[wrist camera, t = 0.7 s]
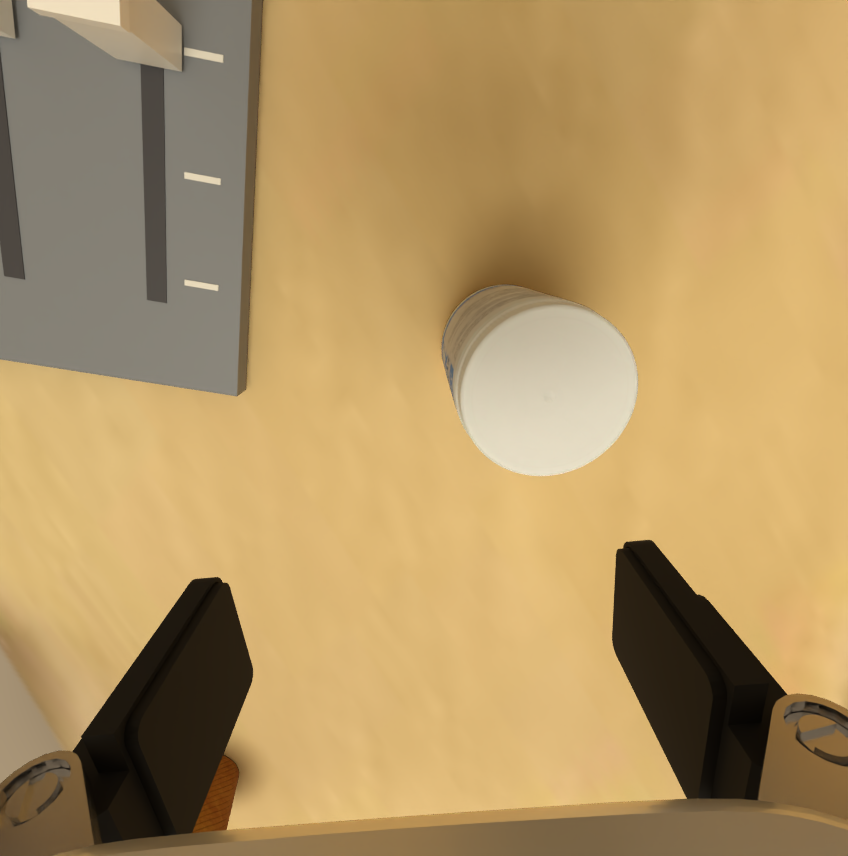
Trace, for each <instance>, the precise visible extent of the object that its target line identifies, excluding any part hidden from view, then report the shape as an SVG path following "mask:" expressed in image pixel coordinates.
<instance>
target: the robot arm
mask: <svg viewBox="0 0 848 856" xmlns="http://www.w3.org/2000/svg"><path fill="white" fill-rule="evenodd" d="M612 641H613V647H614V650H615V653H616V656H617V658H618V660H619V662H620V664H621V666H622V668H623V670H624V672H625V674H626V676H627V678H628V680H629V682H630V684H631V686H632V688H633V690H634V692H635V694H636V696H637V698H638V700H639V702H640V704H641V706H642V708H643V710H644V712H645V714H646V716H647V718H648V721H649V723H650V725H651V727H652V729H653V731H654V733H655V735H656V737H657V739H658V741H659V743H660V745H661V747H662V749H663V751H664V753H665V755H666V757H667V759H668V761H669V763H670V765H671V767H672V769H673V771H674V773H675V775H676V777H677V779H678V781H679V783H680V785H681V787H682V789H683V792H684V794H685V796H686V797H687V799H674V800H653V801H631V802H610V803H595V804H580V805H565V806H550V807H534V808H519V809H504V810H489V811H475V812H461V813H447V814H433V815H418V816H405V817H391V818H377V819H364V820H350V821H336V822H323V823H311V824H298V825H285V826H273V827H260V828H247V829H234V830H222V831H210V832H200V833H192V832H193V829H194V827H195V824H196V822H197V819H198V817H199V814H200V812H201V809H202V807H203V804H204V802H205V799H206V797H207V794H208V792H209V789H210V787H211V784H212V781H213V779H214V776H215V774H216V771H217V769H218V766H219V764H220V761H221V759H222V756H223V754H224V751H225V749H226V746H227V744H228V741H229V739H230V736H231V734H232V731H233V729H234V726H235V723H236V721H237V718H238V716H239V713H240V711H241V708H242V706H243V703H244V701H245V698H246V696H247V693H248V691H249V688H250V686H251V683H252V678H253V667H252V663H251V660H250V656H249V653H248V649H247V646H246V642H245V639H244V635H243V632H242V628H241V625H240V621H239V618H238V614H237V611H236V607H235V604H234V600H233V597H232V593H231V590H230V587H229V585H228V584H227V583H223V582H222V580H221V579H220V578H218V577H214V578H202V579H194V580H192V581H191V582H190V584H189V585H188V586H187V588H186V589H185V591H184V592H183V594H182V595H181V596H180V598H179V599H178V601H177V602H176V603H175V605H174V606H173V608H172V609H171V610H170V612H169V613H168V615H167V616H166V618H165V619H164V620H163V622H162V623H161V625H160V626H159V627H158V629H157V630H156V632H155V633H154V634H153V636H152V637H151V639H150V640H149V642H148V643H147V644H146V646H145V647H144V649H143V650H142V651H141V653H140V654H139V656H138V657H137V658H136V660H135V661H134V663H133V664H132V666H131V667H130V668H129V670H128V671H127V673H126V674H125V675H124V677H123V678H122V680H121V681H120V683H119V684H118V685H117V687H116V688H115V690H114V691H113V692H112V694H111V695H110V697H109V698H108V699H107V701H106V702H105V704H104V705H103V707H102V708H101V709H100V711H99V712H98V714H97V715H96V716H95V718H94V719H93V721H92V722H91V723H90V725H89V726H88V728H87V729H86V731H85V732H84V733H83V735H82V736H81V737H82V739H81V740H80V742H79V743H78V745H77V746H76V747H75V749H74V750H73V752H71V751H56V752H51V753H48V754H44V755H42V756H40V757H38V758H36V759H34V760H32V761H29V762H28V763H26V764H25V765H23V766H22V767H21V768H19V769H17V770H16V771H14V772H13V773H12V774H11V775H10V776H8V777H7V778H6V779H5V780H4V781H3V782H2V783H0V856H848V710H847V709H846V708H844V707H842V706H840V705H838V704H836V703H834V702H831V701H829V700H827V699H823V698H820V697H817V696H813V695H806V694H791V695H787V694H786V692H785V691H784V690H783V689H782V688H781V686H780V685H779V684H778V683H777V682H776V681H775V679H774V678H773V677H772V676H771V675H770V673H769V672H768V671H767V670H766V669H765V667H764V666H763V665H762V664H761V663H760V661H759V660H758V659H757V658H756V657H755V656H754V654H753V653H752V652H751V651H750V650H749V648H748V647H747V646H746V645H745V644H744V642H743V641H742V640H741V639H740V638H739V636H738V635H737V634H736V633H735V632H734V631H733V629H732V628H731V627H730V626H729V625H728V623H727V622H726V621H725V620H724V619H723V617H722V616H721V615H720V614H719V613H718V611H717V610H716V609H715V608H714V607H713V605H712V604H711V603H710V602H709V601H708V600H707V599H706V598H705V597H704V596H701V595H697V594H696V593H695V592H694V591H693V590H692V588H691V587H690V586H689V585H688V584H687V582H686V581H685V580H684V579H683V577H682V576H681V575H680V574H679V573H678V571H677V570H676V569H675V568H674V566H673V565H672V564H671V563H670V562H669V560H668V559H667V558H666V557H665V555H664V554H663V553H662V552H661V551H660V549H659V548H658V547H657V546H656V544H655V543H654V542H653V541H651V540H643V541H632V542H626V543H625V544H624V546H623V549H618V550H617V553H616V570H615V591H614V611H613V631H612Z"/></svg>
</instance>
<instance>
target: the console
mask: <svg viewBox="0 0 848 856" xmlns="http://www.w3.org/2000/svg"><path fill="white" fill-rule="evenodd" d="M156 1H157V2H158V3H159V4H160V5H161V6H162V7H163V8H164V9H165V10H166V11H167V12H168V13H170V14H171V15H172V16H173V17H174V18H175V19H176V20H177V21H178V22H179V23H180V24H181V25H182V72H180V71H175V70H170V69H165V68H160V67H155V66H150V65H145V64H140V63H135V62H130V61H125V60H119V59H116V58H114V57H113V56H111V55H110V54H108V53H107V52H105V51H103V50H102V49H100V48H99V47H97V46H96V45H94V44H93V43H91V42H90V41H88V40H87V39H85V38H84V37H82V36H81V35H79V34H78V33H76V32H75V31H73V30H72V29H70V28H69V27H67V26H66V25H64V24H62V23H61V22H59V21H58V20H56V19H55V18H52V17H47V16H42V15H39V14H37V13H36V12H34V11H33V10H31V9H30V8H28V7H27V0H12V9H13V19H14V29H15V39H13V38H8V37H3V36H0V359H2V360H8V361H14V362H21V363H27V364H34V365H40V366H46V367H53V368H59V369H66V370H72V371H78V372H85V373H91V374H98V375H104V376H110V377H117V378H123V379H130V380H136V381H142V382H149V383H155V384H162V385H168V386H174V387H181V388H187V389H194V390H200V391H206V392H213V393H219V394H226V395H232V396H238V395H239V394H241V393H242V392H243V391H245V390H246V375H247V352H248V329H249V306H250V283H251V260H252V237H253V214H254V191H255V168H256V145H257V121H258V98H259V75H260V52H261V29H262V6H263V0H156Z"/></svg>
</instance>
